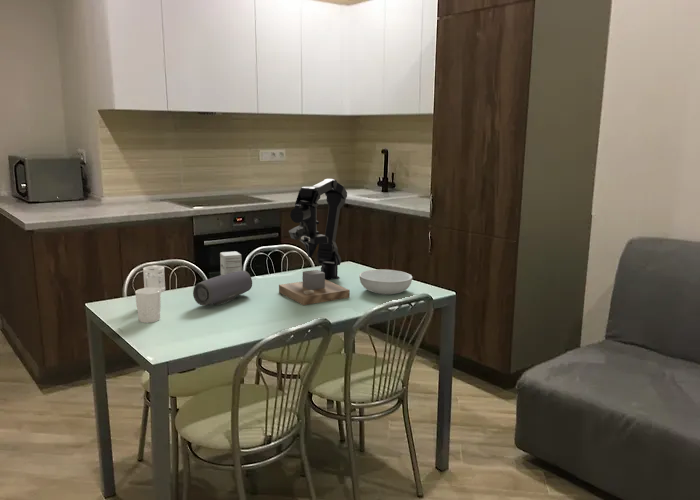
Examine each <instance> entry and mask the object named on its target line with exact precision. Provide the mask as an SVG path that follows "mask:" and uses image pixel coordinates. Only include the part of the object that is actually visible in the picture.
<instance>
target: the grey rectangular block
mask: <svg viewBox="0 0 700 500" xmlns="http://www.w3.org/2000/svg"><path fill="white" fill-rule="evenodd" d="M325 280H326V279H325V273H324V272H321V270H319V269H313V270H305V271H302V281H303V287H304V288H306V289H309V290H315V289H322V288H325Z"/></svg>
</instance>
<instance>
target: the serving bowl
mask: <svg viewBox="0 0 700 500" xmlns="http://www.w3.org/2000/svg"><path fill="white" fill-rule="evenodd" d="M359 281H360V283H361V285H362V286H363V288H364V289H365V290H368V291H369V292H372V293H375V294H378V295H382V296H383V295H385V296H387V295H388V296H389V295H395V294H399V293H403V292H405V291H407V290H408V289H409V288H410V286H411V284H412V281H413V276H412V274H410V273H407V272H405V271H401V270H395V269H382V268H381V269H369V270H368V269H367V270H365V271H362V272H360V273H359Z"/></svg>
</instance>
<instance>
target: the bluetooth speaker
mask: <svg viewBox="0 0 700 500" xmlns="http://www.w3.org/2000/svg"><path fill="white" fill-rule="evenodd" d="M252 286H253V279H252V276H251V275H250V273H249V272H248V271H246V270H242V271H236V272H232V273H227V274H224V275H221V274H219V275H217V276H214V277H211V278H207V279H205V280H202V281H201V282H198V283H196V284H195V285H194V287H193V290H192V296H193V298H194V300H195V302H196V303H197V304H198V305H199V306H203V307H204V306H209V305H214V306H219V305H222V304H225V303H228V302H232V301H234V300H236V297H238V296H240V295H243V294H245V293H246V292H249V291H250V290H251V289H252V288H253V287H252Z"/></svg>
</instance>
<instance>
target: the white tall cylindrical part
mask: <svg viewBox="0 0 700 500" xmlns="http://www.w3.org/2000/svg"><path fill="white" fill-rule="evenodd" d="M142 270H143V284H144V285H143V286H144V287H143V288H158V289H160V290H161V293H164V292H165V291H166V281H165V280H166V278H165V266H162V265H156V264H155V265H154V264H153V265H149V266H144V267H143V268H142Z"/></svg>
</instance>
